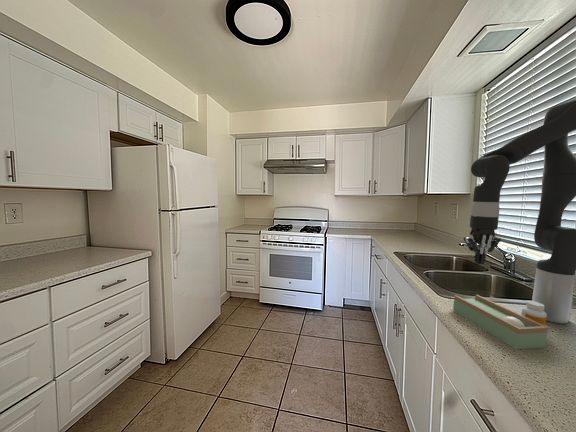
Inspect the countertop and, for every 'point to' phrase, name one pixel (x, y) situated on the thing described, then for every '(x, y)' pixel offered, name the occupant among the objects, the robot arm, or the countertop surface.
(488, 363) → the countertop surface
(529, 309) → the supplement bottle
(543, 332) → the runway
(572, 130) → the robot arm
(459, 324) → the countertop surface
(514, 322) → the ball
